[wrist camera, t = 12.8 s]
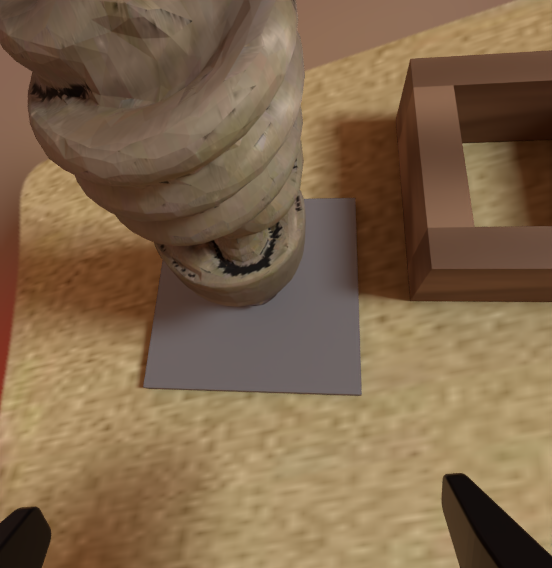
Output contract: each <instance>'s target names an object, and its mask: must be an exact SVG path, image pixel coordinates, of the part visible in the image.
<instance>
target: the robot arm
mask: <svg viewBox="0 0 552 568" xmlns="http://www.w3.org/2000/svg"><path fill="white" fill-rule="evenodd" d="M442 508H443V512H444V516H445V519H446V522H447V526H448V529H449V532H450V536H451V539H452V542H453V546H454V549H455V552H456V556H457V559H458V562H459V565H460V568H552V556H551V555H550V554H549V553H548V552H547V551H546V550H545V549H544V548H543V547H542V546H541V545H540V544H539V543H538V542H536V541H535V540H534V539H533V538H532V537H531V536H530V535H529V534H528V533H527V532H526V531H525V530H524V529H523V528H522V527H521V526H520V525H518V524H517V523H516V522H515V521H514V520H513V519H512V518H511V517H510V516H509V515H508V514H507V513H506V512H505V511H504V510H503V509H501V508H500V507H499V506H498V505H497V504H496V503H495V502H494V501H493V500H492V499H491V498H490V497H489V496H488V495H487V494H486V493H485V492H483V491H482V490H481V489H480V488H479V487H478V486H477V485H476V484H475V483H474V482H473V481H472V480H471V479H470V478H469V477H468V476H466V475H465V474H463V473H453V474H445V475H444V476H443V482H442ZM50 540H51V529H50V527H49V525H48V523H47V521H46V519H45V518H44V516H43V514H42V512H41V510H40V509H39V508H38V507H22V508H19V509H17V510H15V511H14V512H12V513H11V514H10V515H9V516H8V517H7V518H5V519H4V520H3V521H2V522H1V523H0V568H42V565H43V562H44V559H45V556H46V553H47V550H48V547H49V544H50Z"/></svg>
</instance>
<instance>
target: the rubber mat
mask: <svg viewBox="0 0 552 568" xmlns="http://www.w3.org/2000/svg"><path fill="white" fill-rule="evenodd" d="M304 203H305V214H306V218H305V219H306V227H305V244H304V252H303V256H302V259H301V261H300V264H299V266H298V269H297V271H296V273H295V275H294V276H293V278H292V279H291V281H290V282H289V283H288V284H287V285H286V286H285V287H284V288H283V289H282V290H281V291H280V292H278V294H277V295H276V296H275V297H274V298H273V299H272V300H270V301H269V302H267V303H266V304H264V305H259V306H252V305H247V306H242V307H235V306H224V305H220V304H217V303H213V302H210V301H207V300H206V299H204V298H202V297H200V296H198V295H197V294H196V293H195V292H193V291H192V290H191V289H189V288H188V287H187V286H185V285H184V284H183V283H182V282H181V281H180V280H179V279H178V278H177V276H176V275H175V274H174V273H173V272H172V271H171V270H170V268H169V267H168V266H167V264H166V263H165V262H164V261H163V262H162V268H161V275H160V281H159V288H158V294H157V301H156V307H155V314H154V321H153V327H152V334H151V340H150V347H149V353H148V360H147V366H146V373H145V379H144V386H143V387H144V388H149V389H179V390H208V391H238V392H268V393H298V394H327V395H357V396H361V395H362V393H361V362H360V331H359V299H358V268H357V237H356V205H355V198H324V199H304Z"/></svg>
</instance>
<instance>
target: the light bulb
mask: <svg viewBox="0 0 552 568" xmlns="http://www.w3.org/2000/svg"><path fill="white" fill-rule="evenodd" d="M297 26H298V15H297V6H296V0H0V44H1V45H2V47H3V49H4V50H5V51H6V52H7V53H8V54H9V55H10V56H11V57H12V58H13V59H14V60H15V61H16V62H18V63H20V64H21V65H23V66H25V67H26V68H28V69H29V70H31V71H33V72H32V76H31V82H30V85H29V90H28V112H29V119H30V125H31V127H32V130H33V132H34V135H35V137H36V139H37V141H38V142H39V144H40V145H41V147H42V148H43V150H44V152H45V153H46V155H47V156H48V158H49V159H50V160H52V161H53V162H54V163H56V164H57V165H58V166H60V167H61V168H62V169H64V170H66V171H68V172H70V173H72V174H74V175H75V177H76V180H77V182H78V183H79V185H80V186H81V188H82V189H83V191H84V192H85V194H86V195H87V196H88V197H89V198H90V199H92V200H93V201H94V202H95V203H97V204H98V205H99V206H101V207H102V208H104V209H106V210H107V211H109V212H110V213H113V214H115V215H116V217H117V218H118V219H119V221H120V222H121V223H123V224H124V225H125V226H126V227H127V228H128V229H130V230H131V231H132V232H134V233H135V234H137V235H139V236H141V237H143V238H145V239H147V240H150V241H152V242H154V244H155V247H156V249H157V251H158V253H159V254H160V256H161V258H162V259H163V261H164V262H165V263H166V264H167V266H168V267H169V268H170V270H171V271H172V272H173V273H174V274H175V275H176V276H177V278H178V279H179V280H180V281H181V282H182V283H183V284H184V285H185V286H187V287H188V288H189V289H191V290H192V291H193V292H195V293H196V294H197V295H198V296H200V297H202V298H204V299H206V300H207V301H210V302H213V303H217V304H220V305H224V306H235V307H242V306H247V305H252V306H259V305H264V304H266V303H267V302H269V301H270V300H272V299H273V298H274V297H275V296H276V295H277V294H278V292H280V291H281V290H282V289H283V288H284V287H285V286H286V285H287V284H288V283H289V282H290V281H291V279H292V278H293V276H294V275H295V273H296V271H297V269H298V266H299V264H300V261H301V259H302V256H303V252H304V244H305V227H306V219H305V218H306V214H305V203H304V198H303V196H302V193H301V191H300V185H301V177H302V169H303V152H302V144H301V132H302V125H303V119H302V110H301V101H302V94H303V86H304V78H305V73H304V61H303V51H302V45H301V40H300V36H299V33H298V31H297Z"/></svg>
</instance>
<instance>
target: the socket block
mask: <svg viewBox="0 0 552 568" xmlns="http://www.w3.org/2000/svg"><path fill="white" fill-rule="evenodd" d="M396 127H397V140H398V152H399V165H400V178H401V190H402V203H403V215H404V228H405V241H406V253H407V266H408V278H409V291H410V301H511V302H552V226H520V227H474V220H473V213H472V207H471V200H470V193H469V186H468V180H467V173H466V166H465V159H464V153H463V146H462V143H469V142H497V141H524V140H552V51H536V52H519V53H502V54H485V55H468V56H451V57H435V58H418V59H410V63H409V67H408V71H407V76H406V80H405V84H404V88H403V92H402V96H401V100H400V105H399V109H398V113H397V117H396Z"/></svg>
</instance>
